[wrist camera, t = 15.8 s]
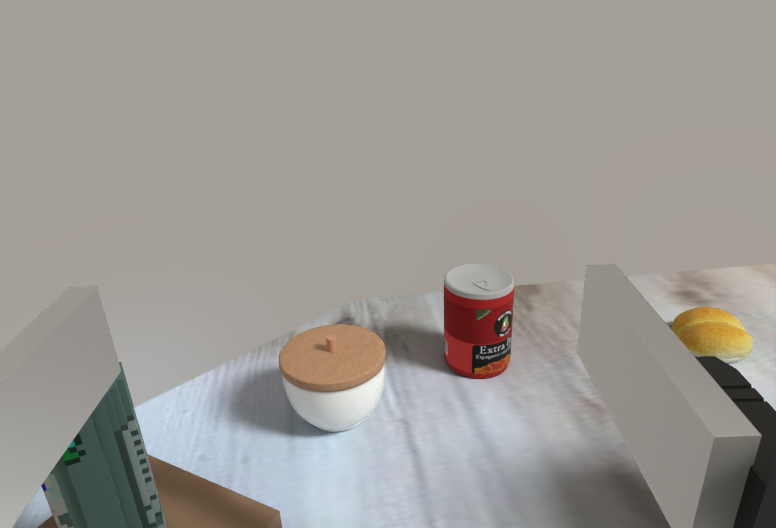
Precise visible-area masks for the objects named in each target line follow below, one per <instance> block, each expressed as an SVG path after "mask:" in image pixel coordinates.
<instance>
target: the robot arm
mask: <svg viewBox="0 0 776 528" xmlns="http://www.w3.org/2000/svg"><path fill="white" fill-rule="evenodd" d="M577 354H578V355H579V357H580V359H581V361H582V363H583V365H584V367H585V369H586V370H587V372H588V374H589V376H590V378H591V380H592V382H593V383H594V385H595V387H596V389H597V391H598V393H599V395H600V396H601V398H602V400H603V402H604V404H605V406H606V408H607V410H608V411H609V413H610V415H611V417H612V419H613V421H614V423H615V424H616V426H617V428H618V430H619V432H620V434H621V436H622V438H623V439H624V441H625V443H626V445H627V447H628V449H629V451H630V452H631V454H632V456H633V458H634V460H635V462H636V464H637V465H638V467H639V469H640V471H641V473H642V475H643V477H644V479H645V480H646V482H647V484H648V486H649V488H650V490H651V492H652V493H653V495H654V497H655V499H656V501H657V503H658V505H659V507H660V508H661V510H662V512H663V514H664V516H665V518H666V520H667V521H668V523H669V525H670V527H671V528H776V411H775V410H774V409H773V408H772V407H771V405H770V404H769V403H768V402H767V401H766V402H764V398H763V397H762V396H761V395H760V394H759V393H758V392H757V391H756V389H755V388H752V387H751V384H750V383H749V382H748V381H747V380H746V379H745V378H744V377H743V376H742V375H741V373H740V372H739V371H738V370H737V369H735V368H734V367H732V366H730V365H729V364H727V363H725V362H724V361H722V360H720V359H719V358H717V357H715V356H699V357H694V356H693V354H692V353H691V352H690V351H689V350H688V349H687V347H686V346H685V345H684V344H683V343H682V342H681V340H680V339H679V338H678V337H677V336H676V334H675V333H674V332H673V331H672V330H671V329H670V327H669V326H668V325H667V324H666V323H665V322H664V320H663V319H662V318H661V317H660V316H659V315H658V313H657V312H656V311H655V310H654V309H653V308H652V306H651V305H650V304H649V303H648V302H647V301H646V299H645V298H644V297H643V296H642V295H641V294H640V292H639V291H638V290H637V289H636V288H635V286H634V285H633V284H632V283H631V282H630V281H629V279H628V278H627V277H626V276H625V275H624V274H623V272H622V271H621V270H620V269H619V268H618V267H617V265H616V264H607V265H587V266H586V274H585V284H584V293H583V302H582V311H581V320H580V330H579V339H578V348H577ZM120 372H121V369H120V365H119V362H118V358H117V355H116V351H115V348H114V344H113V341H112V337H111V334H110V331H109V327H108V323H107V320H106V316H105V313H104V309H103V306H102V302H101V299H100V295H99V292H98V288H97V286H87V287H68V288H67V289H66V291H64V292H63V293H62V294H61V295H60V296H59V297H58V298H57V299H56V300H55V301H53V302H52V303H51V304H50V305H49V306H48V307H47V308H46V309H45V310H44V311H43V312H42V313H41V314H39V315H38V316H37V317H36V318H35V319H34V320H33V321H32V322H31V323H30V324H29V325H28V326H27V327H26V328H25V329H23V330H22V331H21V332H20V333H19V334H18V335H17V336H16V337H15V338H14V339H13V340H11V341H10V342H9V344H7V345H6V346H5V347H4V348H3V349H2V350H1V351H0V528H12V527H13V525H14V524H15V523H16V521H17V520H18V518H19V517H20V515H21V514H22V512H23V511H24V510H25V508H26V507H27V505H28V504H29V502H30V501H31V500H32V498H33V497H34V495H35V494H36V492H37V491H38V490H39V488H40V487H41V485H42V484H43V482H44V481H45V480H46V478H47V477H48V475H49V474H50V472H51V471H52V469H53V468H54V467H55V465H56V464H57V462H58V461H59V459H60V458H61V457H62V455H63V454H64V452H65V451H66V449H67V448H68V447H69V445H70V444H71V442H72V441H73V439H74V438H75V436H76V435H77V434H78V432H79V431H80V429H81V428H82V426H83V425H84V424H85V422H86V421H87V419H88V418H89V416H90V415H91V414H92V412H93V411H94V409H95V408H96V406H97V405H98V404H99V402H100V401H101V399H102V398H103V396H104V395H105V393H106V392H107V391H108V389H109V388H110V386H111V385H112V383H113V382H114V381H115V379H116V378H117V376H118V375H119V373H120Z"/></svg>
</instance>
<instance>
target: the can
mask: <svg viewBox="0 0 776 528" xmlns="http://www.w3.org/2000/svg"><path fill="white" fill-rule="evenodd" d="M119 365H120V369H121V372H120V373H119V375H118V376H117V378H116V379H115V381H114V382H113V383H112V385H111V386H110V388H109V389H108V391H107V392H106V393H105V395H104V396H103V398H102V399H101V401H100V402H99V404H98V405H97V406H96V408H95V409H94V411H93V412H92V414H91V415H90V416H89V418H88V419H87V421H86V422H85V424H84V425H83V426H82V428H81V429H80V431H79V432H78V434H77V435H76V436H75V438H74V439H73V441H72V442H71V444H70V445H69V447H68V448H67V449H66V451H65V452H64V454H63V455H62V457H61V458H60V459H59V461H58V462H57V464H56V465H55V467H54V468H53V469H52V471H51V472H50V474H49V475H48V477H47V478H46V480H45V481H44V482H43V484H42V485H41V486H42V488H43V491H44V493H45V496H46V499H47V501H48V504H49V506H50V509H51V511H52V514H53V516H54V519H55V521H56V524H57V527H58V528H168V526H167V523H166V519H165V516H164V512H163V509H162V505H161V502H160V498H159V495H158V491H157V488H156V484H155V480H154V477H153V473H152V470H151V466H150V463H149V459H148V456H147V452H146V449H145V445H144V441H143V438H142V434H141V431H140V427H139V424H138V420H137V417H136V413H135V410H134V406H133V403H132V399H131V395H130V392H129V388H128V385H127V382H126V378H125V374H124V371H123V368H122V364H121V362H119Z"/></svg>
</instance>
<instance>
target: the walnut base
mask: <svg viewBox="0 0 776 528" xmlns="http://www.w3.org/2000/svg"><path fill="white" fill-rule="evenodd" d="M147 456H148V459H149V463H150V466H151V470H152V473H153V477H154V480H155V484H156V488H157V491H158V495H159V498H160V502H161V505H162V509H163V512H164V516H165V519H166V523H167V526H168V528H282V524H281V518H280V512H279V511H278V510H276V509H273V508H271V507H269V506H267V505H264V504H262V503H260V502H257V501H255V500H253V499H250V498H248V497H246V496H243V495H241V494H239V493H236V492H234V491H232V490H229V489H227V488H225V487H222V486H220V485H218V484H215V483H213V482H211V481H208V480H206V479H204V478H201V477H199V476H197V475H194V474H192V473H190V472H187V471H185V470H183V469H180V468H178V467H176V466H173V465H171V464H169V463H166V462H164V461H162V460H159V459H157V458H155V457H152V456H150V455H148V454H147ZM38 528H58V527H57V524H56V521H55V519H54V516H51V517H50V518H49V519H48V520H46V521H45V522H44V523H43V524H41V525H40V526H39V527H38Z"/></svg>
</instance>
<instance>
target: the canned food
mask: <svg viewBox="0 0 776 528" xmlns="http://www.w3.org/2000/svg"><path fill="white" fill-rule="evenodd" d="M513 301H514V279H513V276H512V275H511V274H510V273H509V272H507V271H506V270H504V269H502V268H499V267H496V266H493V265H486V264H466V265H460V266H457V267H454V268H452V269H451V270H449V271H448V272H447V273H446V274H445V280H444V353H445V358H446V361H447V363H448V365H449V367H450V368H451V369H452V370H454V371H455V372H457V373H458V374H461V375H463V376H466V377H470V378H476V379H484V378H491V377H494V376H497V375H499V374H501V373H502V372H504V371H505V369H506V368H507V366H508V363H509V361H510V353H511V335H512V318H513Z"/></svg>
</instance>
